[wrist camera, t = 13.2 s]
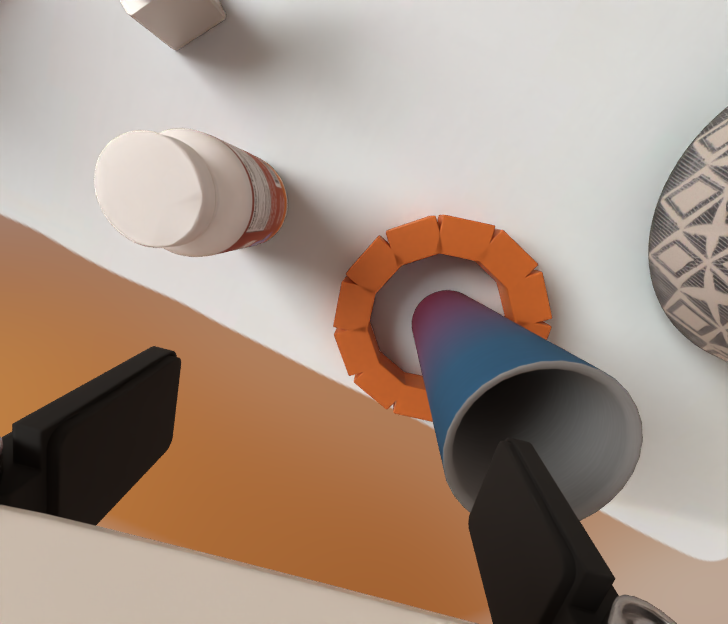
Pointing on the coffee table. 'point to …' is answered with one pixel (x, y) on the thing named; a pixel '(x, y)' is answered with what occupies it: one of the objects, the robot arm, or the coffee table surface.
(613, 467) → the cup
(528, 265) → the ring
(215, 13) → the lighter
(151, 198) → the pill bottle
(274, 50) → the coffee table surface
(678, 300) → the planter
